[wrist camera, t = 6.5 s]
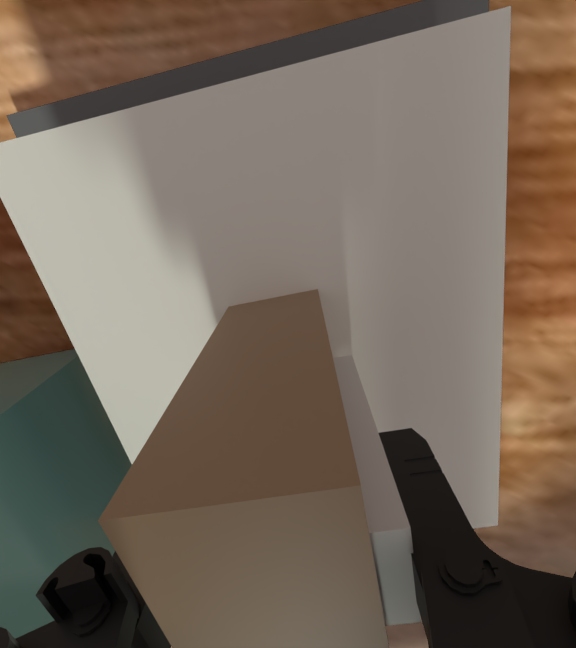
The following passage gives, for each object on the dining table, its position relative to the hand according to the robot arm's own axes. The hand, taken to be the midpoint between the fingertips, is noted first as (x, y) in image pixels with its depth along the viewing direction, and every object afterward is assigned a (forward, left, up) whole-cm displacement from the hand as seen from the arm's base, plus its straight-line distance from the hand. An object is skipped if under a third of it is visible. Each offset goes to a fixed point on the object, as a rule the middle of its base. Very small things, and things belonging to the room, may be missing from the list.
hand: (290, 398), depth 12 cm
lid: (0, 0, -3) cm, 3 cm away
